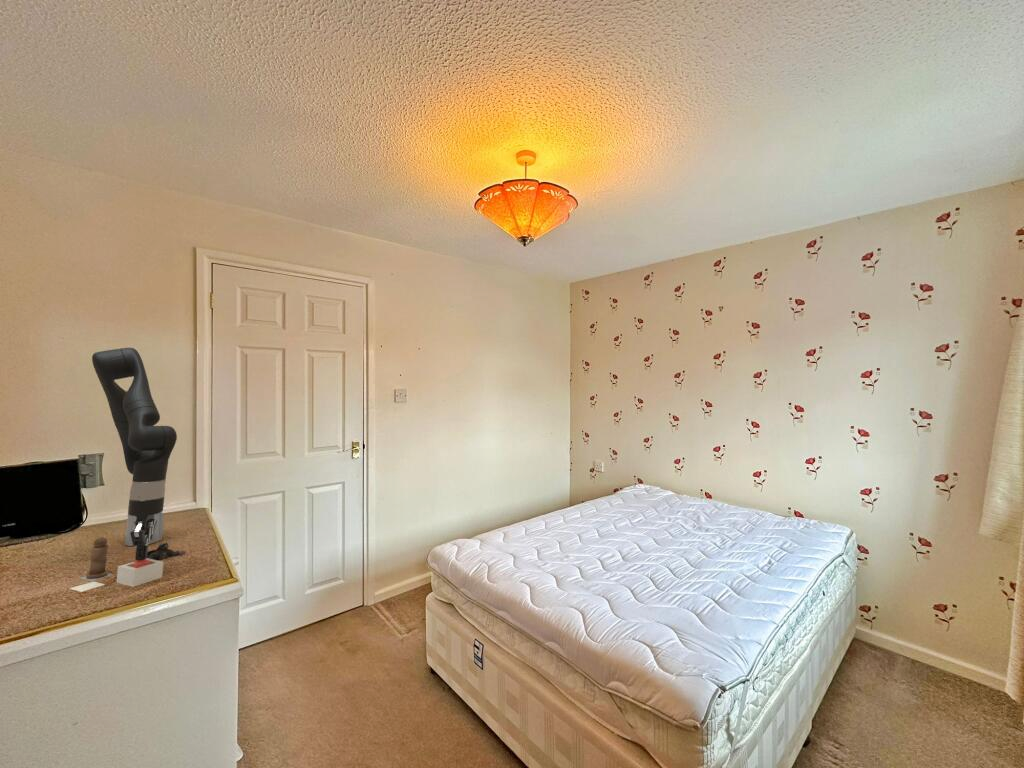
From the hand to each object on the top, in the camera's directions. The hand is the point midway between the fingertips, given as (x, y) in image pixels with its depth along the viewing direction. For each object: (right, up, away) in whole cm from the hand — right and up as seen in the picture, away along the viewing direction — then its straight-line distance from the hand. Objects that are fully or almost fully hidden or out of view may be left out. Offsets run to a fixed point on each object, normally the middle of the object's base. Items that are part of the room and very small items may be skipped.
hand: (141, 559), depth 117 cm
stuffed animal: (-8, -8, +16) cm, 20 cm away
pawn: (-13, -5, +1) cm, 14 cm away
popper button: (0, -5, 0) cm, 5 cm away
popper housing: (0, -7, 0) cm, 7 cm away
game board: (-7, -6, -2) cm, 10 cm away
